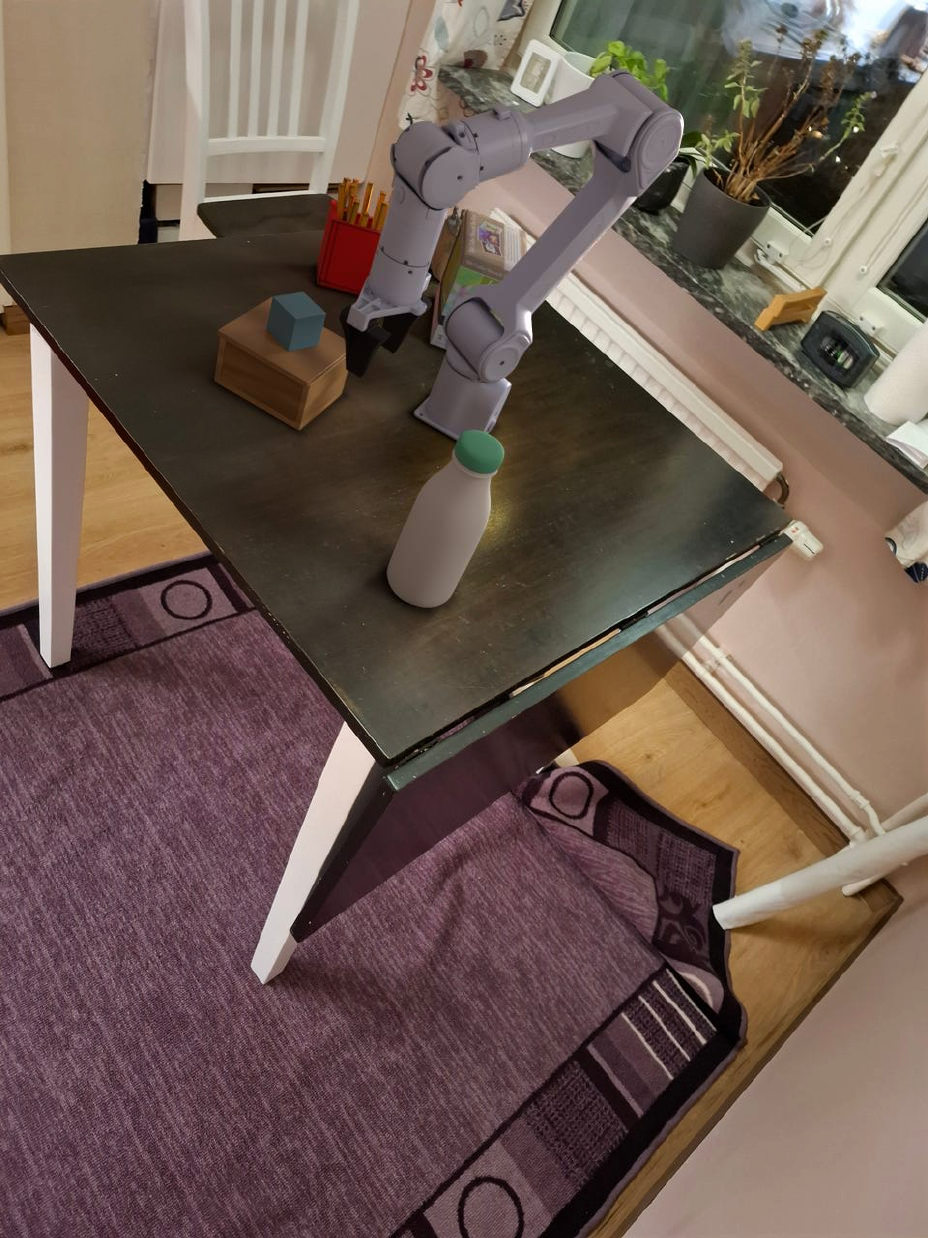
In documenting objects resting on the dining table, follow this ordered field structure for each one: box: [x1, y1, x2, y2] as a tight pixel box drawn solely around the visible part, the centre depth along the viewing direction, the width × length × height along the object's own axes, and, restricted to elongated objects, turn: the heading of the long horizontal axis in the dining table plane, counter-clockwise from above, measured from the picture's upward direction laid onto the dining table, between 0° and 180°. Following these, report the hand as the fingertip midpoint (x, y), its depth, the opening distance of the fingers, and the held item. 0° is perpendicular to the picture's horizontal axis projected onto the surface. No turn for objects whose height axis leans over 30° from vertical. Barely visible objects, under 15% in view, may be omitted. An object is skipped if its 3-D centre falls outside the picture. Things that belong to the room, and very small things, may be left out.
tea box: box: [430, 208, 528, 350], centre depth 122 cm, size 15×10×15 cm
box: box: [214, 337, 349, 431], centre depth 101 cm, size 11×12×7 cm
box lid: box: [216, 296, 346, 388], centre depth 98 cm, size 11×12×1 cm
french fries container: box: [316, 176, 393, 296], centre depth 119 cm, size 7×9×14 cm
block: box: [267, 291, 327, 352], centre depth 96 cm, size 4×4×4 cm
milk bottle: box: [386, 430, 505, 609], centre depth 83 cm, size 8×8×20 cm
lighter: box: [429, 205, 467, 282], centre depth 133 cm, size 7×4×10 cm, turn 8°
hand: (371, 360), depth 95 cm, fingers open, 7 cm apart
